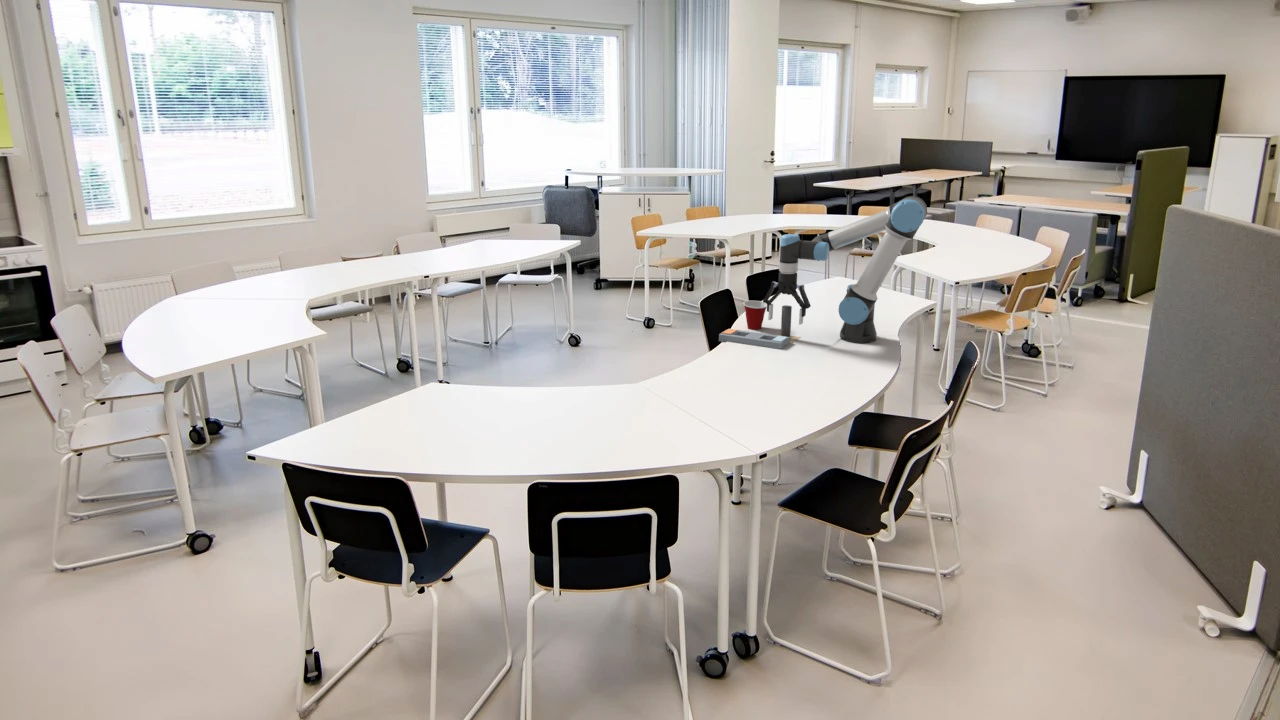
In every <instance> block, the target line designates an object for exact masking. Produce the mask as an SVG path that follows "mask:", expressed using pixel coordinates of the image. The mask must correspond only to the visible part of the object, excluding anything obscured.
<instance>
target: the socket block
mask: <svg viewBox="0 0 1280 720" xmlns="http://www.w3.org/2000/svg"><path fill="white" fill-rule="evenodd" d="M777 335H778V334H770V333H762V332H754V331H749V330H741V329H736V328H735V329H734V328H728V329H725V330H724V331H722V332H721V333H719V334H718V342H722V343H727V342H730V343H737V344H743V345H750V346H755V347H756V346H757V347H762V348H768V349H777V350H782V349H784V348H785V347H787V346H788V345H789V344H791V343H790V337H785V336H777Z"/></svg>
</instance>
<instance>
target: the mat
mask: <svg viewBox="0 0 1280 720" xmlns="http://www.w3.org/2000/svg"><path fill="white" fill-rule="evenodd" d="M776 335H777V336H781V333H779V334H776ZM800 339H801V336H796V335H795V336H794V335H790V343H789V344H794V343H795V342H797V341H798V340H800Z"/></svg>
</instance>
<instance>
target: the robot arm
mask: <svg viewBox="0 0 1280 720" xmlns="http://www.w3.org/2000/svg"><path fill="white" fill-rule="evenodd" d="M927 213H928V207H927V203H925V201H924V200H923V199H922V198H920V197H919V196H916V195H910V196H906V197H904V198H902V199H901V200H899V201H897V202H895V203H893V204H890V205H889V206H888V207H887V208H886V209H885V210H882V211H880V212H877V213H874V214H872V215H869V216H867V217H864V218H861V219H860V220H857V221H854V222H851V223H849V224H847V225H844V226H842V227H839V228H835V230H831V231H828V232H827V233H824V234H820V235H817V236H815V237H814V238H813V239H812V240H802V239H800V235H799V234H795V233H794V234H793V233H787V234H782V236H781V239H780V246H779V248H780V249H779V265H778V266H779V268H778V271H779V272H778V282H776V281H775V280H773V281H772V282H771V283H770V288H769V289H768V291H767V293H766V295H765V296H764V298H763V300H762V302H764V303H766V304H767V308H766V312H768V321H771V320H772V319H773V318H774V317H773V315H774V303H773V302H774V301H775V300H776V299H777V298H778V297H779V296H780V295H781V294H782V295H787V296H792V297H793V298H794V300H795V301H796V302H797V304H798V305H799V307H800V308H799V314H798V315H799V317H798V325H800V326H801V325H803V323H804V317H805V316H806V312H807V309H809V308H811V306H812V305H811V303H810V301H809V298H808V296H807V295H808V294H807V293H806V290H805V284H798V283H797V282H798V273H797V272H798V270H799V268H798V267H799V260H808V261H810V260H811V261H817V262H819V261H828V258H829V255H830V252H832V251H834V250H837V249H839V248H842V247H844V246H847V245H850V244H852V243H856V242H859V241H860V240H863V239H865V238H868V237H871V236H874V235H876V234H879V233H882V232H885V233H884V234H883V236H882V238H881V240H880V241H879V243H878V245H877V247H876V249H875V251H874V252H873V254H872V256H871V257H870V259H869V261H868V263H866V264H867V265H866V267H864V269H863V272H862V274H860V277H859V279H858V281H857V282H856V283H854V284H848V285H847V288H846V294H845V295H844V298H843V299H842V300H841V301H840V303H839V306H838V315H839V318H841V320H842V321H843V324H842V326H841V329H840V331H839V338H840V339H841V340H842V341H846V342H849V343H856V344H857V343H858V344H864V343H872V342H873V343H874V342H875V341H876V340H877V337H878V336H877V335H878V334H877V330H876V326H875V320H874V318H875V306H876V302H877V300H878V296H877V295H878V294H877V293H878V291H879V289H880V287H881V286H882V284H883V282H884V280H885V279H886V277H887V276H888V274H889V272H890V271H891V269H892V268H893V266H894V263H895V262H896V260H897V258H898V256H899V255H900V254H901V252H902V250H903V248H904V247H905V245H906V243H907V242H908V241H910V240H911V241H912V240H913V238H915V235H916V234H917V232H918V230H919V229H920V226H922V224H923V222H924V220H925V219H926V217H927V215H928V214H927ZM775 288H778V290H777V291H776V292H775V293H774V295H772V294H773V292H774V290H775ZM797 290H798V291H799V294H800V295H799V294H798V291H797ZM771 296H772V297H771ZM800 296H801V297H800Z"/></svg>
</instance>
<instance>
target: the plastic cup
mask: <svg viewBox="0 0 1280 720" xmlns="http://www.w3.org/2000/svg"><path fill="white" fill-rule="evenodd" d="M742 302H743V306H744V307H743V308H744V311H745V318H746V326H747V329H748V330H752V331H753V330H754V331H758V330H761V329H762V325H763V321H764V317H765V313H766V311H767V304H766V303H764V302H763V301H761V300H746V301H742Z"/></svg>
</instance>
